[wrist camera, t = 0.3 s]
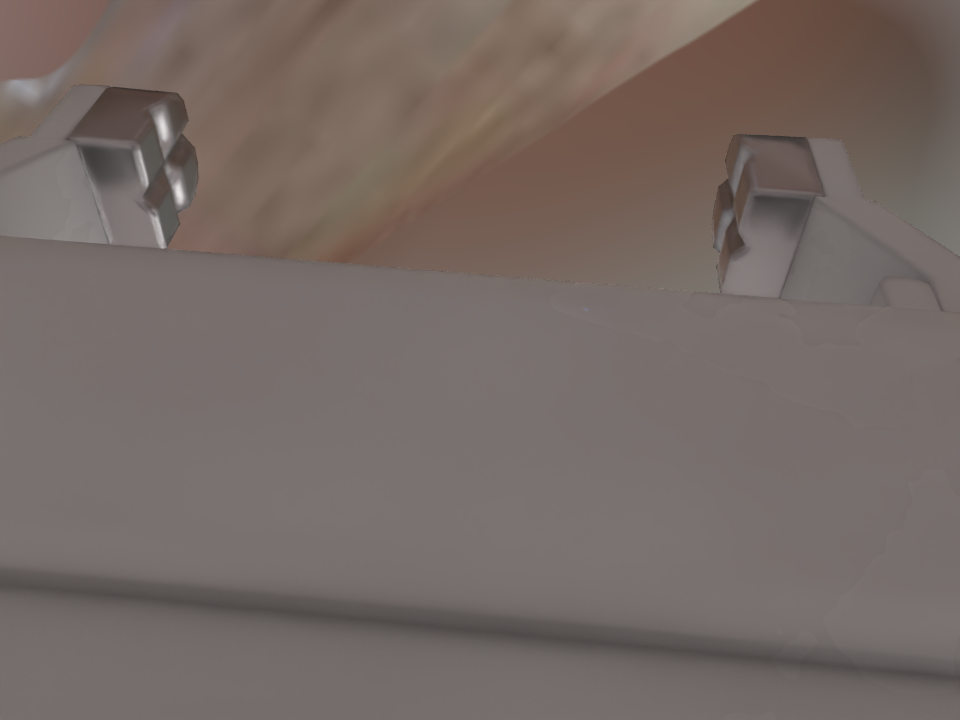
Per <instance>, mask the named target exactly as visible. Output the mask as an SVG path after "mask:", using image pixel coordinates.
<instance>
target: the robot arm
mask: <svg viewBox="0 0 960 720" xmlns="http://www.w3.org/2000/svg"><path fill="white" fill-rule="evenodd" d="M188 121H189V120H188V116H187V112H186V108H185V104H184V100H183V99H182V98H181V97H180V96H179V94H178V93H174V92H163V91H152V90H141V89H131V88H120V87H110V86H101V85H74V86H73V87H72V88H71V89H70V90H69V91H68V93H67V94H66V95H65V96H64V97H63V98H62V100H61V101H60V102H59V103H58V104H57V105H56V107H55V108H54V109H53V110H52V111H51V112H50V114H49V115H48V116H47V117H46V118H45V119H44V121H43V122H42V123H41V124H40V125H39V126H38V128H37V129H36V130H35V131H34V132H33V134H32V135H31V136H30V137H22V136H19V137H16V138H14V139H11V140H9V141H6V142H4V143H1V144H0V720H960V257H959V256H958V255H957V254H955V253H953V252H952V251H950V250H949V249H947V248H946V247H944V246H943V245H941V244H940V243H938V242H937V241H935V240H934V239H932V238H931V237H929V236H927V235H926V234H925V233H923V232H922V231H920V230H919V229H917V228H915V227H914V226H912V225H911V224H909V223H907V222H906V221H905V220H903V219H902V218H900V217H899V216H897V215H896V214H894V213H893V212H891V211H890V210H888V209H887V208H885V207H884V206H882V205H880V204H879V203H877V202H876V201H868V200H865V199H864V196H863V194H862V191H861V188H860V186H859V183H858V180H857V178H856V175H855V173H854V170H853V167H852V165H851V162H850V159H849V157H848V154H847V152H846V149H845V146H844V144H843V142H842V141H841V140H839V139H829V138H806V137H789V136H768V135H747V134H736V135H733V137H732V140H731V142H730V145H729V148H728V152H727V155H726V159H725V163H726V168H727V174H728V179H727V180H726V181H724V182H723V183H722V184H721V185H720V186H719V187H718V191H717V195H716V200H715V204H714V210H713V218H712V240H713V248H714V249H716V250H717V251H718V252H719V253H720V254H719V259H718V262H717V266H716V268H717V273H718V280H719V286H720V292H721V294H720V293H708V292H695V291H682V290H670V289H658V288H644V287H633V286H620V285H608V284H595V283H583V282H570V281H558V280H545V279H532V278H520V277H508V276H495V275H483V274H470V273H458V272H446V271H433V270H421V269H408V268H396V267H384V266H372V265H359V264H347V263H335V262H322V261H310V260H298V259H285V258H273V257H261V256H248V255H236V254H224V253H211V252H199V251H187V250H174V249H166V248H167V247H168V245H169V243H170V241H171V239H172V238H173V236H174V234H175V232H176V230H177V229H178V227H179V225H180V222H179V218H178V214H177V213H179V212H180V211H182V210H184V209H186V208H188V207H190V205H191V203H192V201H193V199H194V197H195V194H196V189H197V183H198V161H197V156H196V152H195V147H194V146H193V145H192V144H191V143H190V142H189V141H188V140H187V138H186V137H185V136H184V135H183V134H182V131H183V130H184V128H185V126H186V125H187V123H188Z"/></svg>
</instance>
